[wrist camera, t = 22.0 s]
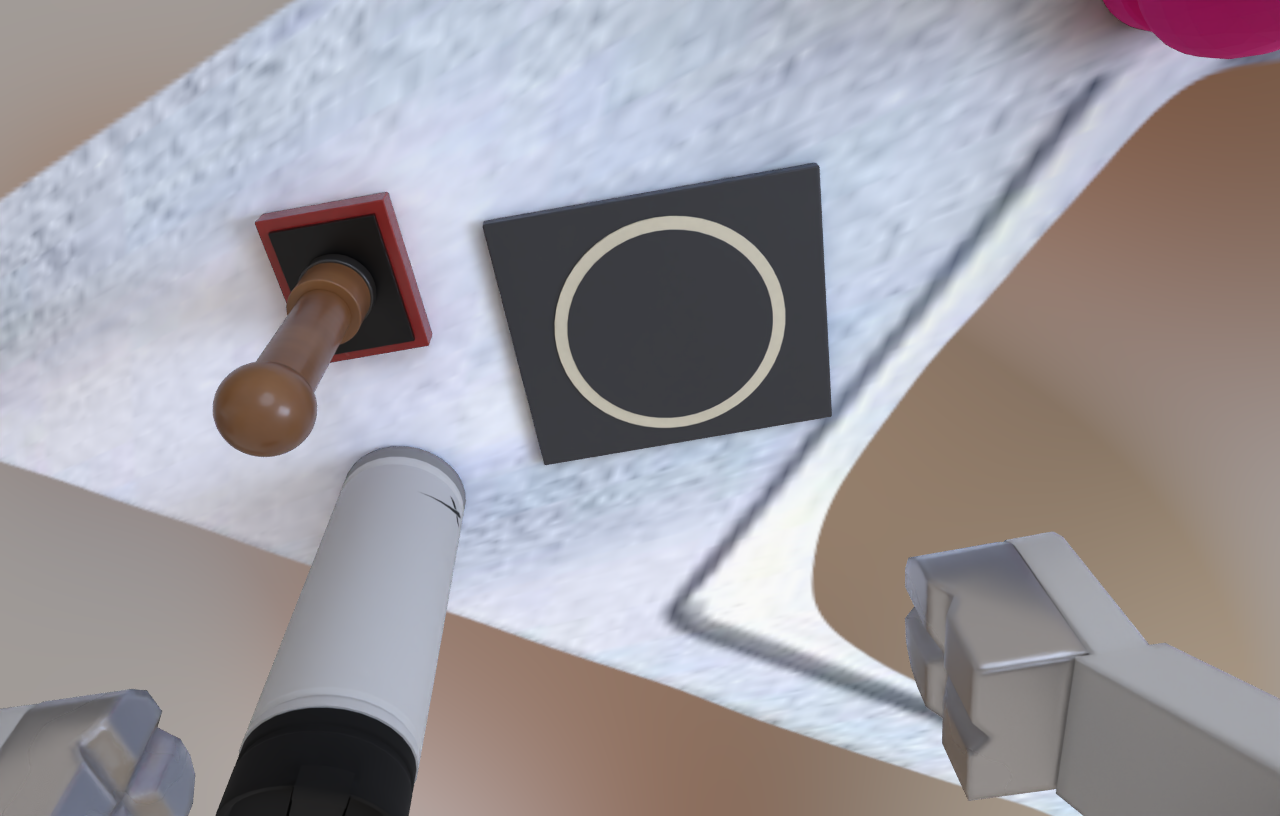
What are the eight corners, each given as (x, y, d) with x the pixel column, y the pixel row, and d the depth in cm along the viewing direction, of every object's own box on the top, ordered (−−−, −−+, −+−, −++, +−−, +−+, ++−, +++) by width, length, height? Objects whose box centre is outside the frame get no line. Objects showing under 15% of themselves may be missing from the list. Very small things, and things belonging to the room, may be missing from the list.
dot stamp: (290, 260, 37) (180, 399, 27) (363, 247, 37) (281, 382, 27) (316, 326, 39) (221, 482, 28) (386, 314, 39) (316, 466, 28)
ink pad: (262, 213, 38) (251, 224, 36) (388, 191, 37) (381, 201, 36) (317, 354, 41) (309, 369, 40) (432, 334, 41) (428, 348, 40)
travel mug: (480, 455, 45) (424, 801, 27) (450, 551, 48) (382, 917, 30) (358, 424, 43) (216, 769, 26) (335, 525, 46) (194, 894, 29)
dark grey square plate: (483, 220, 38) (481, 226, 38) (816, 161, 38) (820, 166, 37) (544, 459, 45) (544, 467, 44) (829, 410, 45) (832, 418, 44)
